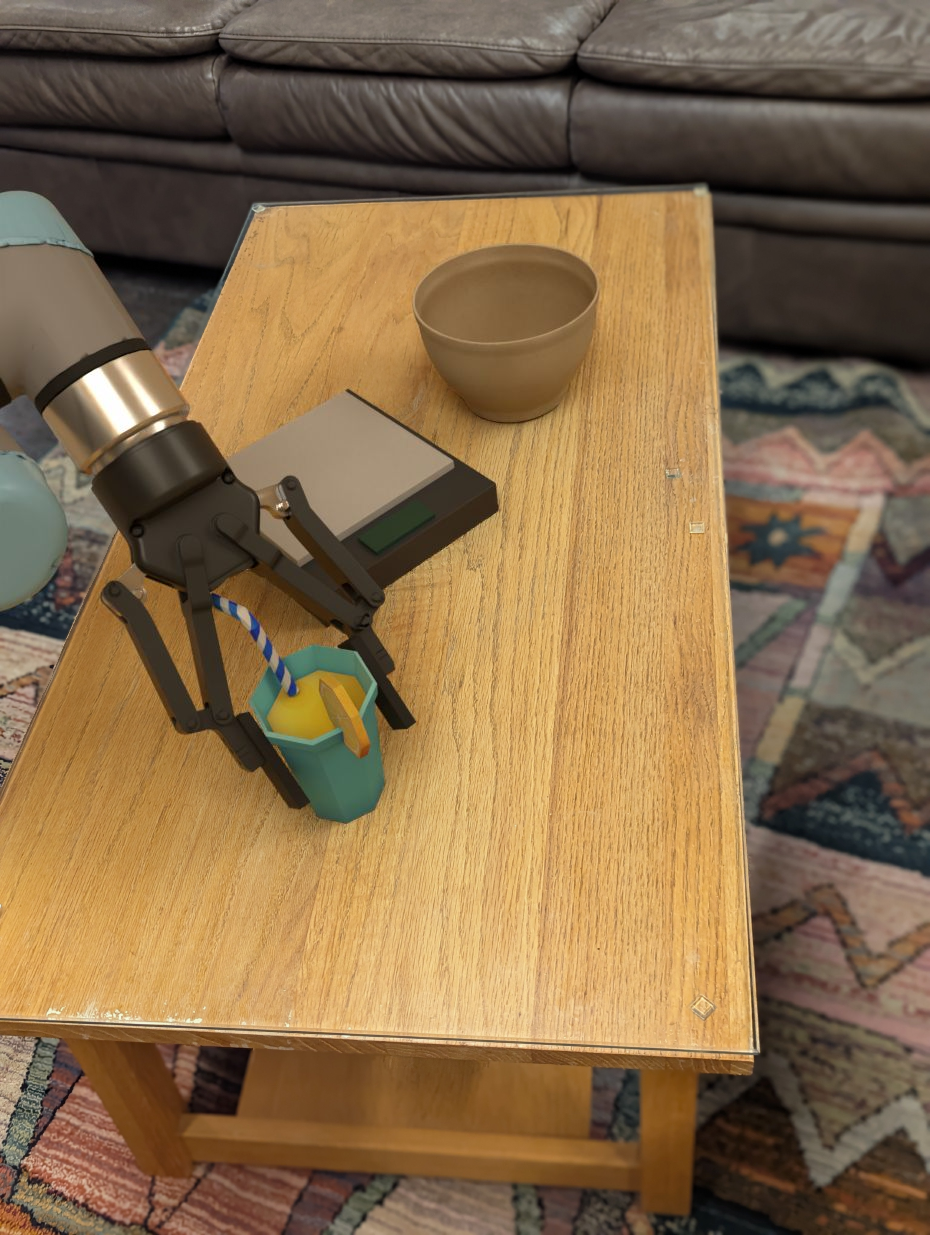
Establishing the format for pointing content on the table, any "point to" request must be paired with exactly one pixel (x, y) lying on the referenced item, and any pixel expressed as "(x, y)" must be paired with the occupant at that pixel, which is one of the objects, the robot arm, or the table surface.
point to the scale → (367, 488)
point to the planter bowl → (508, 325)
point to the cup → (319, 721)
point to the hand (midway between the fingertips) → (353, 764)
